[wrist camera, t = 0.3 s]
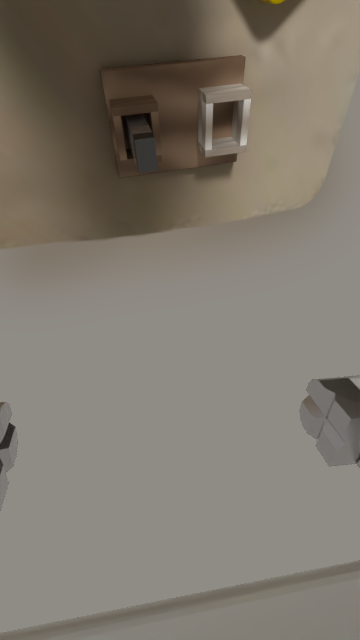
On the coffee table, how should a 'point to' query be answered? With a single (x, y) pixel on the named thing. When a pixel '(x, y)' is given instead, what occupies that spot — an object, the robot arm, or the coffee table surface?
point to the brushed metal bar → (141, 143)
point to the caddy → (180, 111)
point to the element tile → (273, 1)
